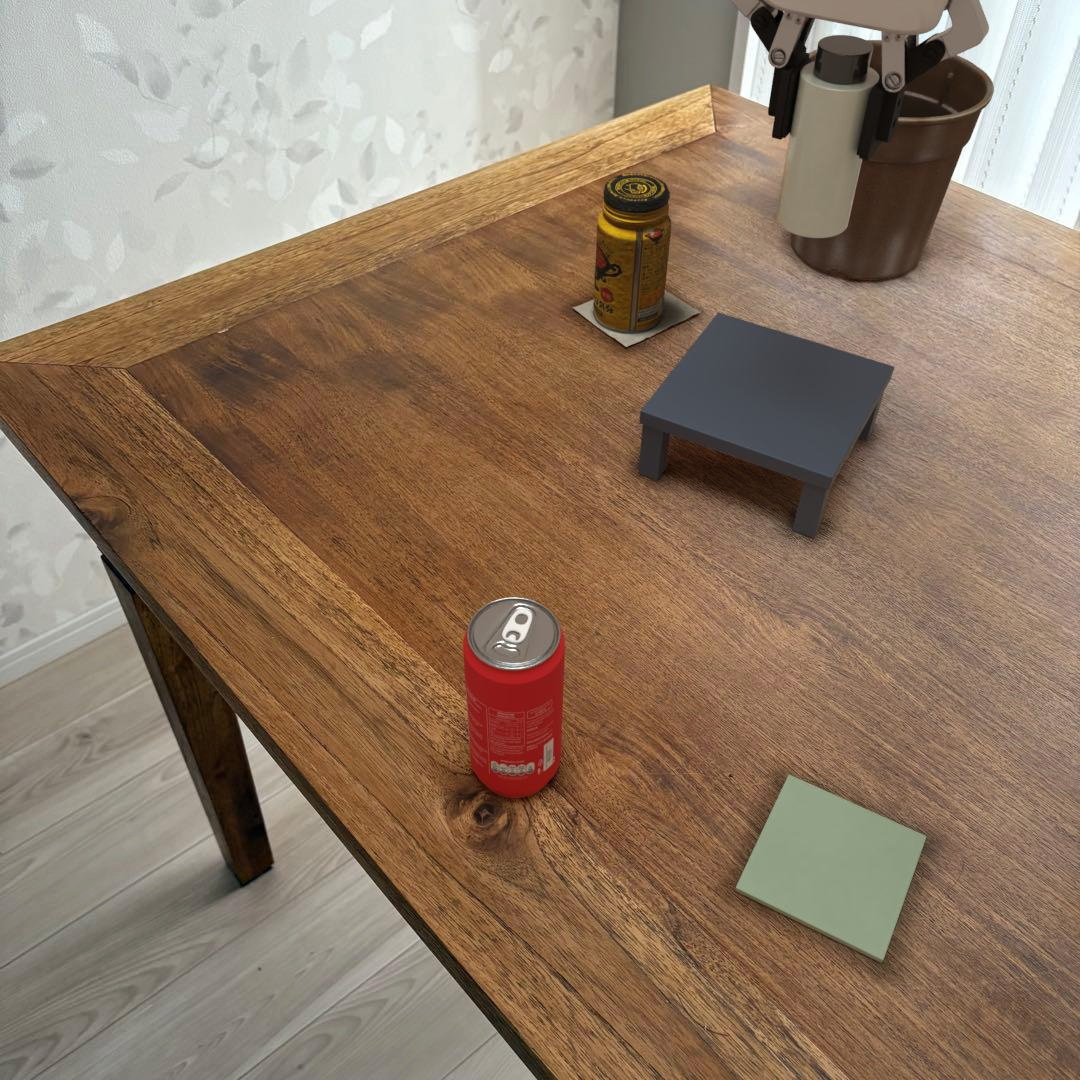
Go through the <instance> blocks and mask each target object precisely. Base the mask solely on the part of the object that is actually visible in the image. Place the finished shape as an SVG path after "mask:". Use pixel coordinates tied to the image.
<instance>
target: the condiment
mask: <svg viewBox="0 0 1080 1080" xmlns="http://www.w3.org/2000/svg"><path fill="white" fill-rule="evenodd" d="M602 193H603V201H602V204H601V208H602V211H601V212H600V213H599V215H598V218H597V225H596V247H595V259H594V260H595V262H594V264H595V266H594V283H593V299H591V300H588V301H586V302H584V303H582V304H579V305H576V306H572V309H573V310H574V311H576V312H578V313H579V314H580V315H581V316H583V317H584V319H586V320H587V321H589V322H590V323H591V324H593V325H594V327H595V326H596V327H597V328H598V329H600V330H601V331H602V332H604V333H605V334H606V335H608V336H609V337H611V338H613V339H615V341H617V342H618V343H620V344H622V345H623V346H624V347H625V348H627V347H629V346H631V345H634V344H637V343H640V342H642V341H644V340H646V339H647V338H651V337H653V336H655V335H657V334H659V333H661V332H663V331H664V330H667V329H668V328H669V327H672V326H675V325H677V324H679V323H681V322H684V321H685V320H688V319H689V318H691V317H693V316H695V315H697V314H700V313H701V310H698V309H697V308H695V307H692V306H691V305H689V304H688V303H686V302H685V301H683V300H681V299H679V298H678V297H677V296H675V295H674V294H672V293H671V292H668V291H667V290H666V284H667V273H668V265H669V254H670V247H671V238H672V237H671V236H672V219H671V217H670V215H669V212H670V211H669V210H670V203H669V201H670V197H671V195H670V194H671V192H670V190H669V188H668V185H667V183H666V182H664V181H663V179H661V178H658V177H656V176H653V175H652V174H646V173H638V172H629V173H624V174H623V173H622V174H618V175H616V176H614V177H612V178H611V179H609V180H608V181H607V182H606V183H605V184H604V187H603V192H602Z"/></svg>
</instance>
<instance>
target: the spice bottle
mask: <svg viewBox="0 0 1080 1080" xmlns="http://www.w3.org/2000/svg"><path fill="white" fill-rule="evenodd" d="M867 40H868V39H864V38H861V37H858V36H854V35H847V34H835V35H834V34H833V35H827V36H825V37H822V38H821V39H819V41H818V42H817V47H816V49H817V51H816V57H815V61H814V62H811V63H808V64H806V65H805V66H804V67H803V68H802V69H801V71H800V76H799V82H798V88H797V94H796V100H795V106H794V112H793V118H792V124H791V130H790V133H789V135H788V142H787V148H786V154H785V161H784V166H783V167H784V168H783V171H782V177H781V178H782V179H781V185H780V190H779V197H778V201H777V207H776V212H775V213H776V215H775V219H776V222H777V224H778V225H779V226H780V227H781V228H782V229H783V230H785V231H786V232H789V233H790V234H791V233H793V234H795V235H799V236H803V237H808V238H828V237H833V236H836V235H839V234H840V233H842V232H843V231H845V229H846V228H847V226H848V223H849V218H850V214H851V209H852V205H853V200H854V196H855V191H856V187H857V182H858V177H859V173H860V168H861V164H862V159H860V158H859V155H857V149H858V144H859V140H860V135H861V130H862V125H863V121H864V116H865V111H866V107H867V102H868V97H869V94H870V91H871V89H872V88H873V87H874V86H875V85H876V83H877V82H878V81H879V75H878V73H877V72H876V71H875V70H874V69H872V68H870V62H871V57H872V53H873V45H872V44H871V43H870V42H868V41H867Z"/></svg>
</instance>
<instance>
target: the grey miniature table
mask: <svg viewBox="0 0 1080 1080" xmlns="http://www.w3.org/2000/svg"><path fill="white" fill-rule="evenodd" d="M894 370H895V366H894V365H891V364H887V363H884V362H881V361H878V360H874V359H871V358H868V357H865V356H862V355H859V354H858V355H857V354H856V353H852V352H848V351H846V350H843V349H839V348H835V347H833V346H830V345H825V344H824V343H823V344H822V343H819V342H816V341H812V340H809V339H806V338H803V337H800V336H797V335H793V334H789V333H786V332H784V331H781V330H777V329H774V328H770V327H767V326H765V325H762V324H761V325H760V324H758V323H754V322H751V321H748V320H745V319H742V318H738V317H735V316H731V315H728V314H724V313H721V312H717V313H716V315H715V316H714V317H713V318H712V319H711V321H710V322H709V323H708V325H707V326H706V327H705V328H704V330H703V331H702V332H701V334H700V335H699V336H698V337H697V338H696V340H695V341H694V342H693V343H692V345H691V346H690V347H689V349H688V350H687V351H686V353H684V355H683V356H682V357H681V358H680V360H679V361H678V363H677V364H676V365H675V366H674V368H672V370H671V372H670V373H669V374H668V375H667V376H666V378H665V379H664V380H663V382H662V383H661V384H660V385H659V387H658V388H657V389H656V391H655V392H654V393H653V394H652V396H651V397H650V398H649V399H648V400H647V402H646V403H645V404H644V405H643V406H642V408H641V409H640V412H639V422H638V423H639V424H640V425H642V427H641V440H640V448H639V457H638V458H639V460H638V468H637V474H638V475H642V476H644V477H647V478H649V479H651V480H654V481H658V480H659V479H660V478H661V476H662V475H663V474H664V472H665V471H666V469H667V466H668V465H667V464H668V455H669V448H670V439H671V436H674V437H676V438H679V439H682V440H684V441H688V442H691V443H694V444H696V445H700V446H701V447H704V448H708V449H710V450H713V451H717V452H718V453H722V454H724V455H727V456H729V457H733V458H736V459H738V460H742V461H744V462H747V463H750V464H753V465H755V466H758V467H762V468H764V469H767V470H770V471H773V472H776V473H778V474H781V475H784V476H787V477H790V478H792V479H795V480H797V481H801V482H803V485H802V488H801V492H800V497H799V501H798V505H797V509H796V513H795V517H794V522H793V525H792V531H793V532H795V533H798V534H801V535H803V536H806V537H809V538H812V539H814V538H815V537H816V535H817V534H818V532H819V529H820V528H821V526H822V523H823V520H824V516H825V513H826V508H827V504H828V500H829V497H830V493H831V489H832V486H833V484H834V482H835V480H836V478H837V477H838V475H839V474H840V471H841V470H842V468H843V466H844V464H845V462H846V461H847V459H848V457H849V455H850V454H851V452H852V450H853V448H854V446H855V445H856V444H857V443H856V442H857V441H858V439H859V440H862V441H865V442H867V441H868V440H869V438H870V436H871V434H872V433H873V431H874V428H875V425H876V422H877V417H878V413H879V410H880V407H881V403H882V400H883V397H884V393H885V391H886V388H887V387H888V385H889V383H890V382H891V380H892V377H893V374H894Z"/></svg>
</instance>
